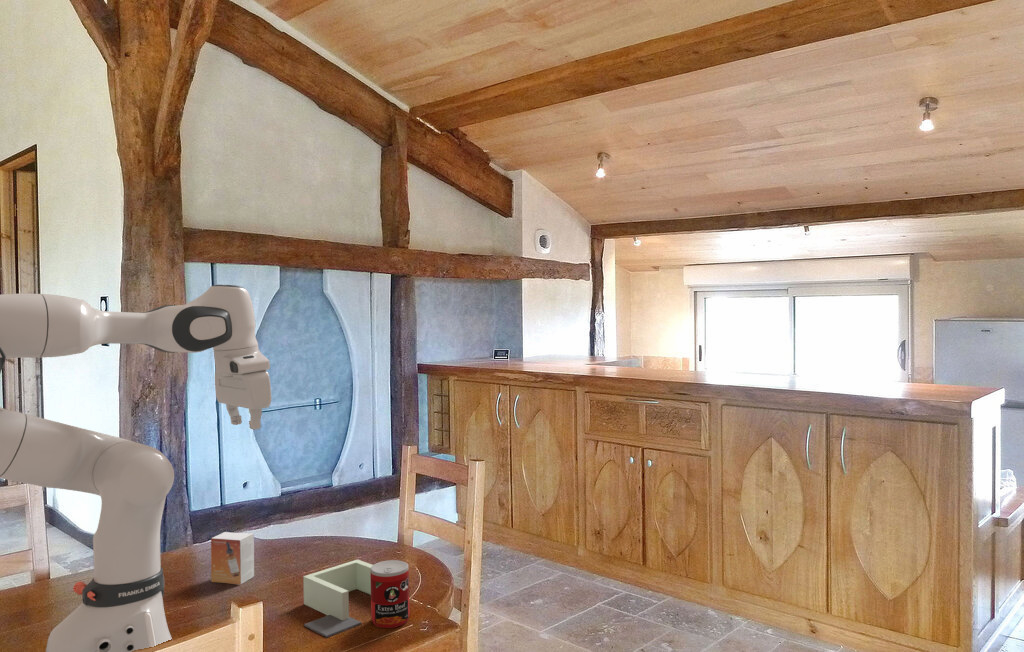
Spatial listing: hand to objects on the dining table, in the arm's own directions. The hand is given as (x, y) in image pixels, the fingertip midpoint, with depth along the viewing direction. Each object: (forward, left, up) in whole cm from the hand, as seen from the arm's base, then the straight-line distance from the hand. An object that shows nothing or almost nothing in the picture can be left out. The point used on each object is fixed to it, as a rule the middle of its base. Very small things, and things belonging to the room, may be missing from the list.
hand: (245, 426), depth 152 cm
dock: (+16, -14, -39) cm, 44 cm away
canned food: (+16, -27, -39) cm, 50 cm away
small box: (+6, +20, -39) cm, 44 cm away
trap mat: (+7, -20, -39) cm, 44 cm away
